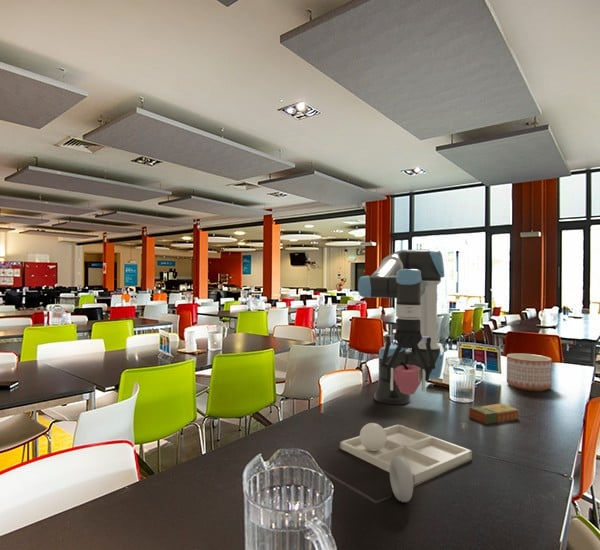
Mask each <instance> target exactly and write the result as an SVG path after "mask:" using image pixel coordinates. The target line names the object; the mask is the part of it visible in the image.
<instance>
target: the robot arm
mask: <svg viewBox="0 0 600 550" xmlns="http://www.w3.org/2000/svg"><path fill="white" fill-rule="evenodd" d="M442 254H443V253H442V252H441V250H439V249H430V248H429V249H401V250H398V251H395V252H392V253H390V254H389V255H387V256H385V257H384V258H383V259H382V260H381V262H380V265H379V266H378V268H377V269H376V270H375V271H374V272H373V273H372V274H371V275H363V276H360V277H359V279H358V283H357V289H358V290H357V291H358V294H359V297H361V298H368V299H369V298H370V299H371V298H372V299H373V298H374V299H375V298H377V299H380V298H381V299H396V302H395V317H396V319H395V333H394V334H387V335H385V340H386V341H385V342H386V343H385V346H382V347H380V349H379V351H378V381H377V382H378V383H377V385H376V388H375V391H374V400H375V401H376V402H379V403H382V404H385V405H386V404H387V405H406V404H409V403H410V402H411V395H409V394H408V395H407V394H403V393H401V392H400V390H399V388H398V386H397V384H396V383H395V380H394V378H393V371H394V369H395V368H396V367H398V366H400V365H401V364H400V363H401V362H404V363H405V364H406V365H415V366H417V367H420V368H421V371H422V380H421V392H422V393H426V382H428V381H429V380H439V379H440V378H441V375H442V369H443V364H444V355H445V352H444V351H442V350H441V346H440V345H439V344H438V343H437V341H438V340H437V338H438V337H437V333H438V331H437V330H438V329H437V318H438V317H437V315H438V314H437V313H438V311H437V310H438V309H437V306H438V304H437V302H438V297H437V296H438V294H437V293H438V285H439V284H440V283H441V281H442V280H441V279H443V278H444V277H445V267H444V266H445V265H444V258H443V255H442ZM394 340H395V341H396V343H397V344H393V345H392V344H391V343H392V342H393V341H394Z"/></svg>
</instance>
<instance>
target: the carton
mask: <svg viewBox="0 0 600 550" xmlns="http://www.w3.org/2000/svg"><path fill="white" fill-rule="evenodd" d="M468 412H469V413H468V416H469V417H468V418H470V419H472V420H474V421H477V422H479V423H482V424H484V425H490V424H496V423H503V422H509V421H510V420H511V421H516V419H517V420H519V409H517V408H515V407H512V406H511V405H510V406H509V405H506V404H504V403H495V404H486V405H481V406H480V405H479V406H473V407H472V406H471V407H469V411H468Z"/></svg>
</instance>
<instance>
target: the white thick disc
mask: <svg viewBox="0 0 600 550" xmlns="http://www.w3.org/2000/svg"><path fill="white" fill-rule="evenodd" d="M389 481H390V486H391V490H392V492H393V495H394V497H395V498H396V500H398V501H399V502H400V501H401V502H400V503H408V502H410V500H411V499H412V497H413V493H414V486H413V478H412V472H411V469H410V466H409V464H408V462H407V460H406V459H405V458H404V457H402V456H399V455H398V456H395V457H393V458H392V460H391V463H390V473H389Z"/></svg>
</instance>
